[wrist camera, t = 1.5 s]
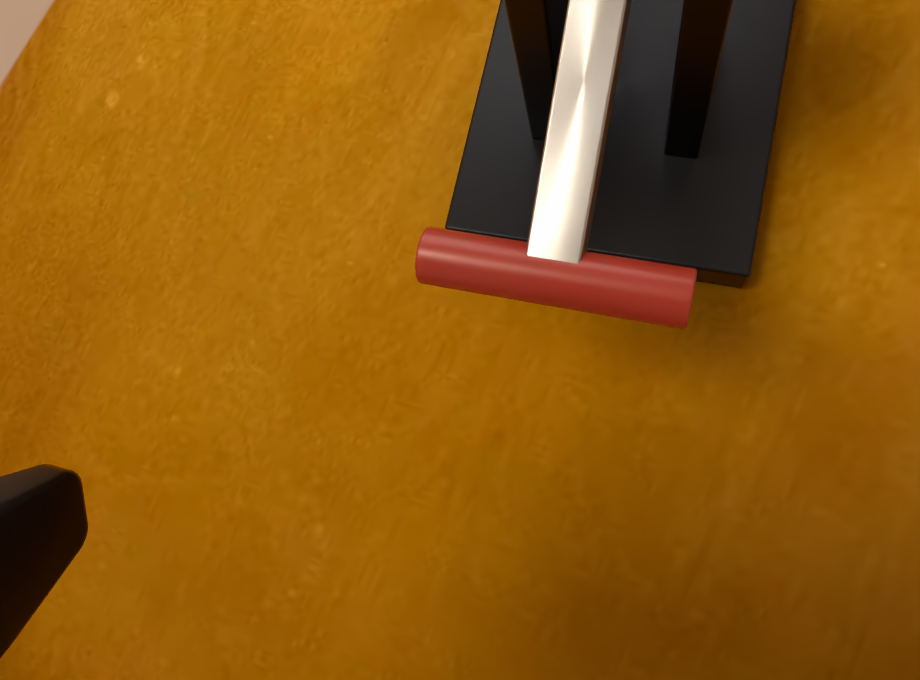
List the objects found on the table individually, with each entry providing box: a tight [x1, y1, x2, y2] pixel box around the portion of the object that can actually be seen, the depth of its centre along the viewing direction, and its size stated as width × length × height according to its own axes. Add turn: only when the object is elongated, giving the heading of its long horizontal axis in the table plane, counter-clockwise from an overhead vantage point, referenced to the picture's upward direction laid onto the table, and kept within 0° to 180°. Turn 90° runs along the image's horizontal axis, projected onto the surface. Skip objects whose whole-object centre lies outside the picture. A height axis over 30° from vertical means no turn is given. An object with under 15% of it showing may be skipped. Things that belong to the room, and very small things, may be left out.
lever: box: [415, 0, 697, 329], centre depth 16 cm, size 11×6×2 cm, turn 167°
